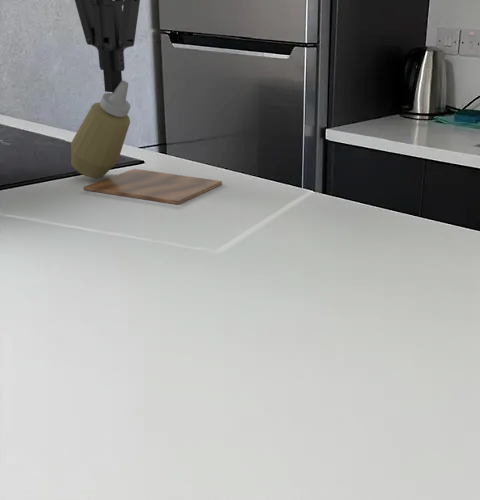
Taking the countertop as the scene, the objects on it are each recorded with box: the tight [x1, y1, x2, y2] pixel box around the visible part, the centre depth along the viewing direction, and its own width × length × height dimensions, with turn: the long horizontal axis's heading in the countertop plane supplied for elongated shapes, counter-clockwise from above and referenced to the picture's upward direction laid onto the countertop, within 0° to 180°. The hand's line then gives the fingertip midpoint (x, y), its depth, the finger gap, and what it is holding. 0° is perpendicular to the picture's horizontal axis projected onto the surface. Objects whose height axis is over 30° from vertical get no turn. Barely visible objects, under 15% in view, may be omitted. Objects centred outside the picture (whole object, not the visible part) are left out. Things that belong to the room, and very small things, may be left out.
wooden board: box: [83, 168, 223, 205], centre depth 116 cm, size 18×14×1 cm
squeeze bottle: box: [70, 80, 131, 179], centre depth 116 cm, size 8×8×18 cm
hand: (113, 90), depth 113 cm, fingers closed
